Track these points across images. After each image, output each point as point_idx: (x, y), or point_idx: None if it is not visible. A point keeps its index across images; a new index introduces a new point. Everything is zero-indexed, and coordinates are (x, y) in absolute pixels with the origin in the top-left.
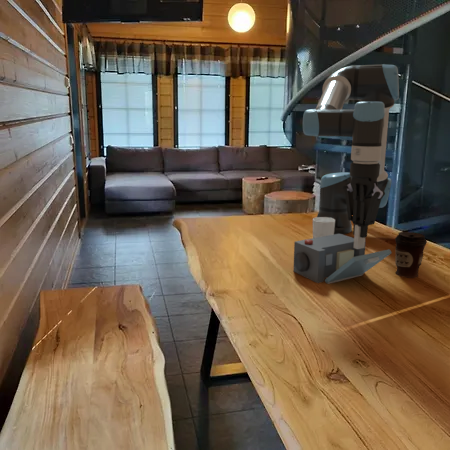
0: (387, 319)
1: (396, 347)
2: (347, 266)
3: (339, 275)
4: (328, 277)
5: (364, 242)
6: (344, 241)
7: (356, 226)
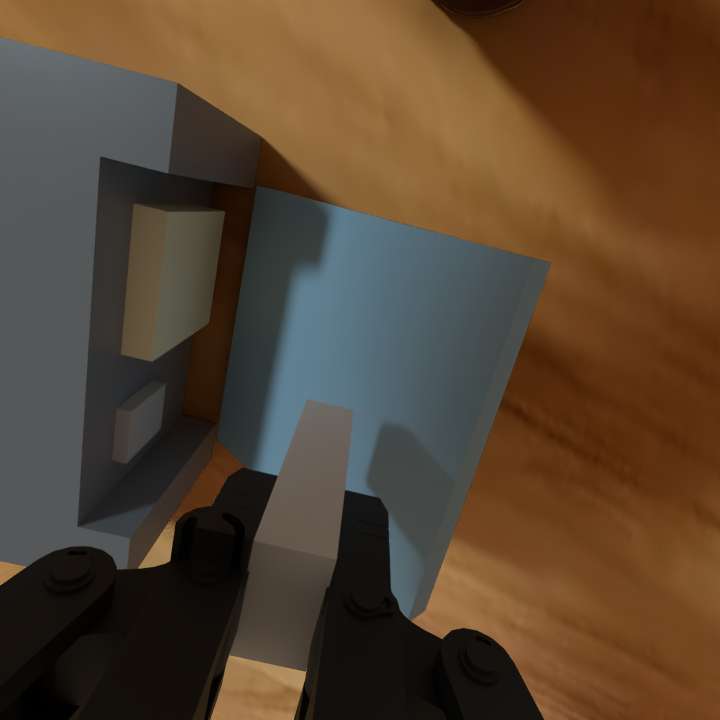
0: (610, 550)
1: (699, 684)
2: None
3: None
4: (236, 454)
5: (349, 437)
6: (43, 235)
7: (262, 648)
